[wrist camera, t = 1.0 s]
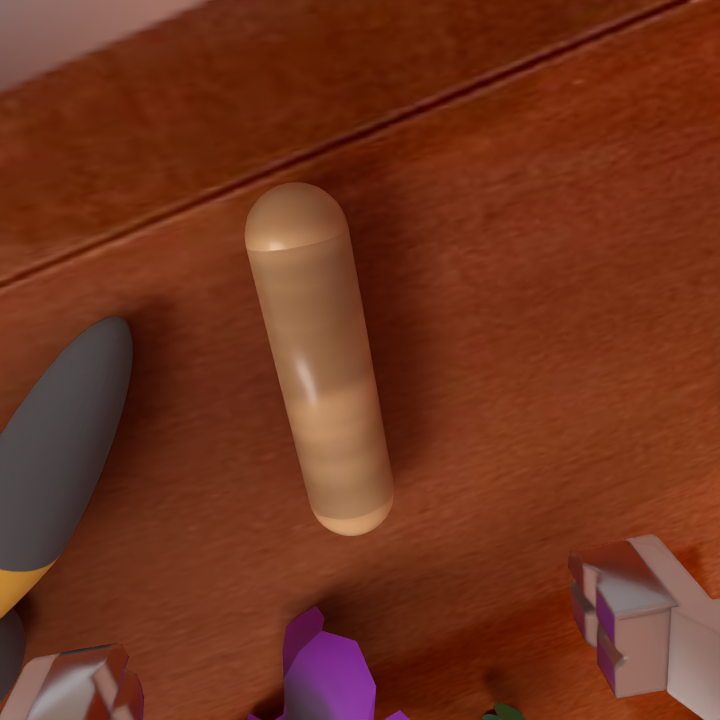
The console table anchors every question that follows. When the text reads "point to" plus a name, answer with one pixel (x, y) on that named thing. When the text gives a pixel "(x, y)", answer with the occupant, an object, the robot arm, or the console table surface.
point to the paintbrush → (55, 466)
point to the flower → (334, 677)
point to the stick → (321, 353)
